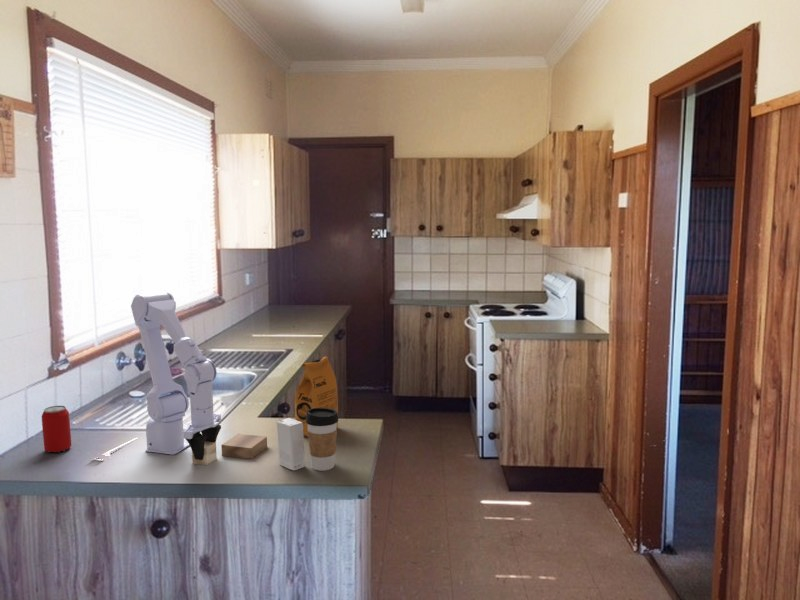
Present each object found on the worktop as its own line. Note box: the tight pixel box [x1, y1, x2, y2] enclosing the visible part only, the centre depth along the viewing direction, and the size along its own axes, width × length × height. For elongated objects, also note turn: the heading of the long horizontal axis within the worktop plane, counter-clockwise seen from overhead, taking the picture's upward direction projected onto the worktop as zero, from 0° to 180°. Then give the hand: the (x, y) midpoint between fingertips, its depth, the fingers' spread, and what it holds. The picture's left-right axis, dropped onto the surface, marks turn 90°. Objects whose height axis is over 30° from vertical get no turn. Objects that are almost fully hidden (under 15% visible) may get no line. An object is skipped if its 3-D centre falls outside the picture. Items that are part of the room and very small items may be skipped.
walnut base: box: [221, 433, 268, 460], centre depth 178 cm, size 9×9×3 cm
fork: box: [87, 437, 139, 462], centre depth 179 cm, size 3×20×2 cm, turn 168°
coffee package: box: [294, 356, 339, 438], centre depth 192 cm, size 10×12×22 cm
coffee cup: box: [306, 408, 339, 472], centre depth 167 cm, size 8×8×15 cm
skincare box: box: [276, 417, 306, 472], centre depth 167 cm, size 6×4×12 cm
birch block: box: [191, 441, 218, 466], centre depth 171 cm, size 4×4×4 cm
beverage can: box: [41, 405, 72, 453], centre depth 179 cm, size 7×7×12 cm
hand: (204, 455), depth 172 cm, fingers closed on birch block, 4 cm apart
